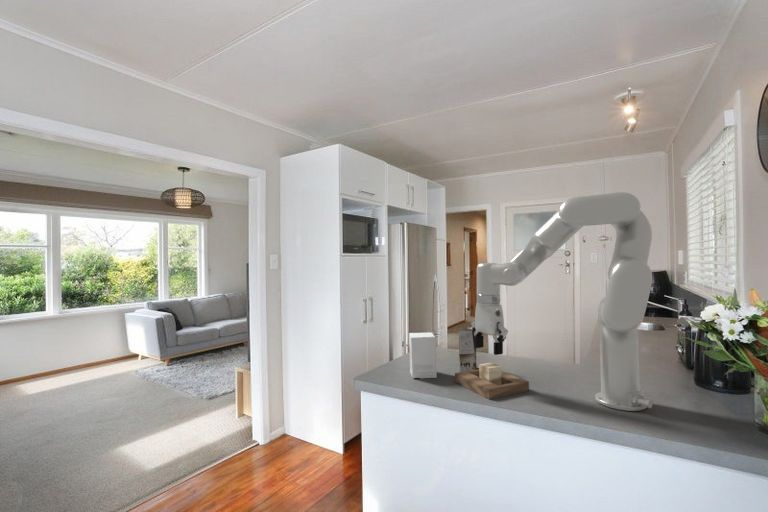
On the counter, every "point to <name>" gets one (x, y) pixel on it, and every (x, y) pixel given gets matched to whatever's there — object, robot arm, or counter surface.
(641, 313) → the robot arm
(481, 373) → the maple block
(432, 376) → the supplement box
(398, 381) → the counter surface
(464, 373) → the pocket block
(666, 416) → the counter surface
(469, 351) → the coffee box
